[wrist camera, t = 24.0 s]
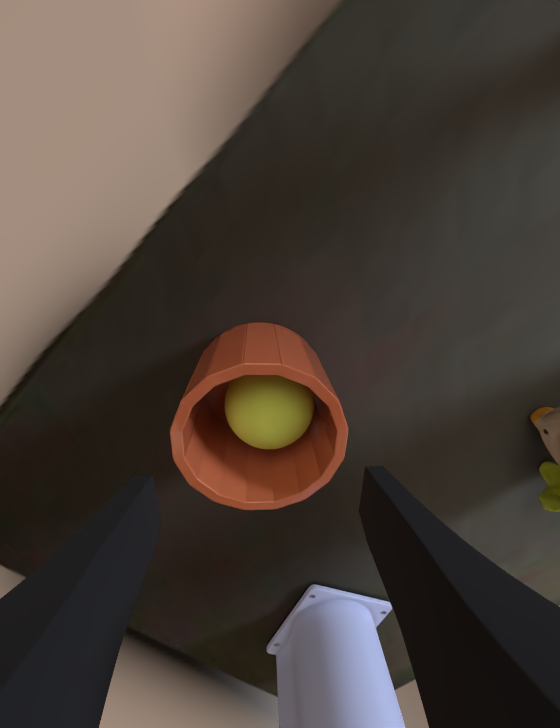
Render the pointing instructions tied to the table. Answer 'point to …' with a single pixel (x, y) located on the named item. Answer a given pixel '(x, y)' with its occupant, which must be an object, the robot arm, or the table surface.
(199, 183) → the table surface
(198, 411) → the pot
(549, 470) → the bird rattle
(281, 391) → the ball
